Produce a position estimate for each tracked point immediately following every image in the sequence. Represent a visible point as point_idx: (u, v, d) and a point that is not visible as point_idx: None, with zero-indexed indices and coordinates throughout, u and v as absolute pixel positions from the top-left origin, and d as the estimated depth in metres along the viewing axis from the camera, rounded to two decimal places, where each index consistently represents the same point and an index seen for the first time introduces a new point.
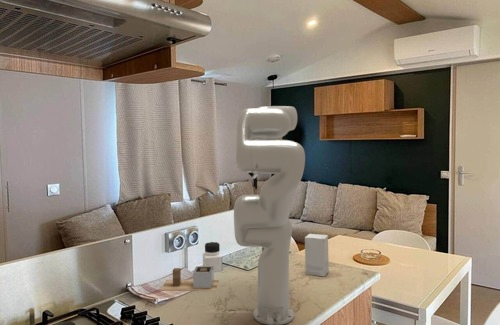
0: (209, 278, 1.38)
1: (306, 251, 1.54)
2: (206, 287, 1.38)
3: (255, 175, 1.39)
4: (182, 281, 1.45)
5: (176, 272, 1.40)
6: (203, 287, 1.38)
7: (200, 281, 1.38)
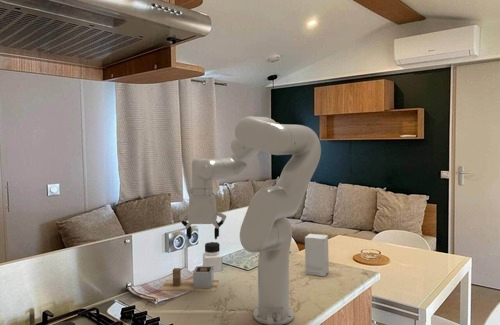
0: (209, 278, 1.38)
1: (306, 251, 1.54)
2: (206, 287, 1.38)
3: (188, 225, 1.39)
4: (182, 281, 1.45)
5: (176, 272, 1.40)
6: (203, 287, 1.38)
7: (200, 281, 1.38)
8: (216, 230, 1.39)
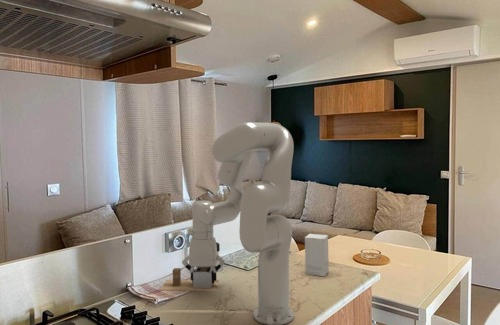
0: (209, 278, 1.38)
1: (306, 251, 1.54)
2: (206, 287, 1.38)
3: (192, 269, 1.39)
4: (182, 281, 1.45)
5: (176, 272, 1.40)
6: (203, 287, 1.38)
7: (200, 281, 1.38)
8: (213, 274, 1.40)
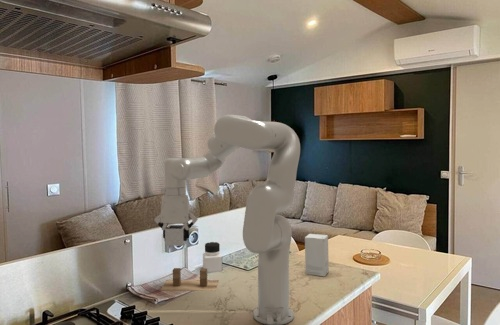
0: (181, 235, 1.37)
1: (306, 251, 1.54)
2: (178, 244, 1.37)
3: (164, 227, 1.39)
4: (182, 281, 1.45)
5: (176, 272, 1.40)
6: (175, 244, 1.37)
7: (172, 237, 1.37)
8: (186, 232, 1.39)
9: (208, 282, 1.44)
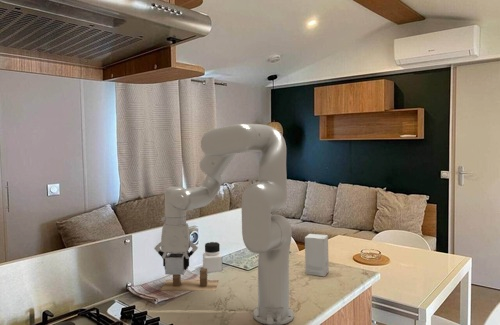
0: (181, 264, 1.38)
1: (306, 251, 1.54)
2: (178, 273, 1.38)
3: (164, 255, 1.39)
4: (182, 281, 1.45)
5: None
6: (175, 273, 1.38)
7: (172, 266, 1.38)
8: (186, 260, 1.40)
9: (208, 282, 1.44)
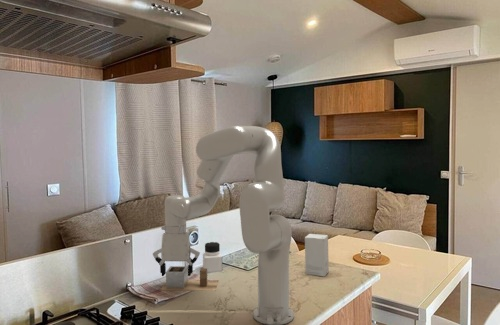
0: (182, 278, 1.38)
1: (306, 251, 1.54)
2: (179, 287, 1.38)
3: (161, 262, 1.40)
4: None
5: None
6: (176, 287, 1.38)
7: (173, 281, 1.38)
8: (189, 267, 1.40)
9: (208, 282, 1.44)
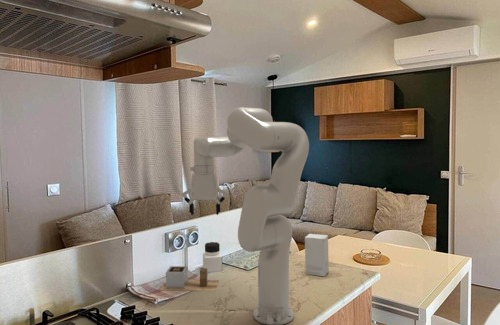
0: (182, 278, 1.38)
1: (306, 251, 1.54)
2: (179, 287, 1.38)
3: (191, 201, 1.45)
4: None
5: None
6: (176, 287, 1.38)
7: (173, 281, 1.38)
8: (218, 206, 1.45)
9: (208, 282, 1.44)
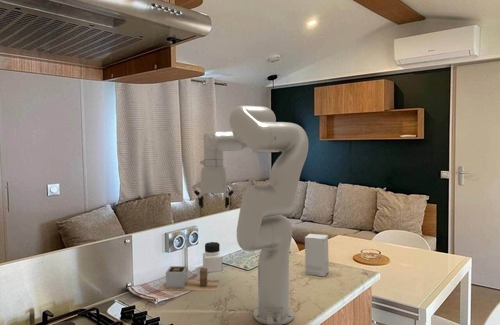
0: (182, 278, 1.38)
1: (306, 251, 1.54)
2: (179, 287, 1.38)
3: (200, 194, 1.48)
4: None
5: None
6: (176, 287, 1.38)
7: (173, 281, 1.38)
8: (227, 199, 1.48)
9: (208, 282, 1.44)
